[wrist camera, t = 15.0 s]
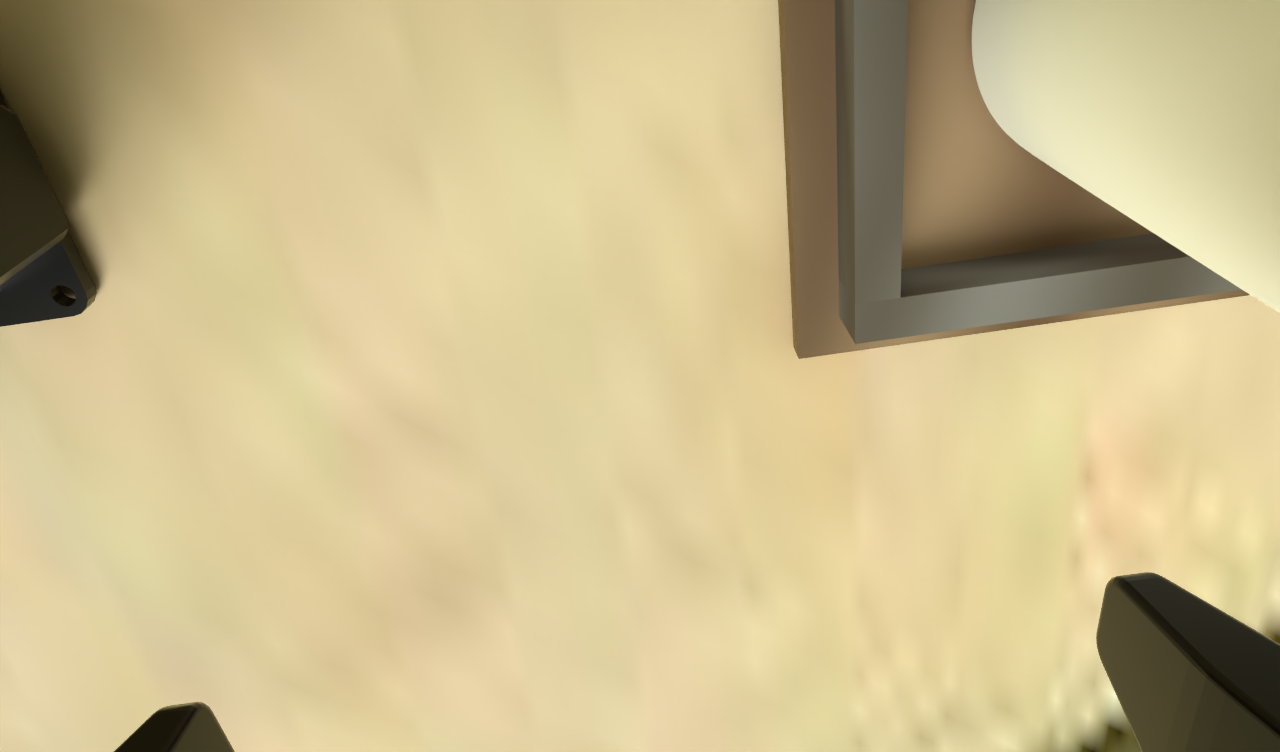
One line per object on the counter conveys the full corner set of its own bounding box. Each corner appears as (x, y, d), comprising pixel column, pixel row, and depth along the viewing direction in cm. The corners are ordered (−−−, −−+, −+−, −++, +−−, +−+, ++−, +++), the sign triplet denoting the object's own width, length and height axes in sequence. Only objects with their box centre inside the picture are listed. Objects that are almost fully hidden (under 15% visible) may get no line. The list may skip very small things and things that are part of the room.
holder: (793, 347, 22) (812, 388, 20) (762, -373, 15) (786, -404, 13) (1354, 267, 22) (1420, 302, 20) (1589, -497, 15) (1723, -545, 13)
